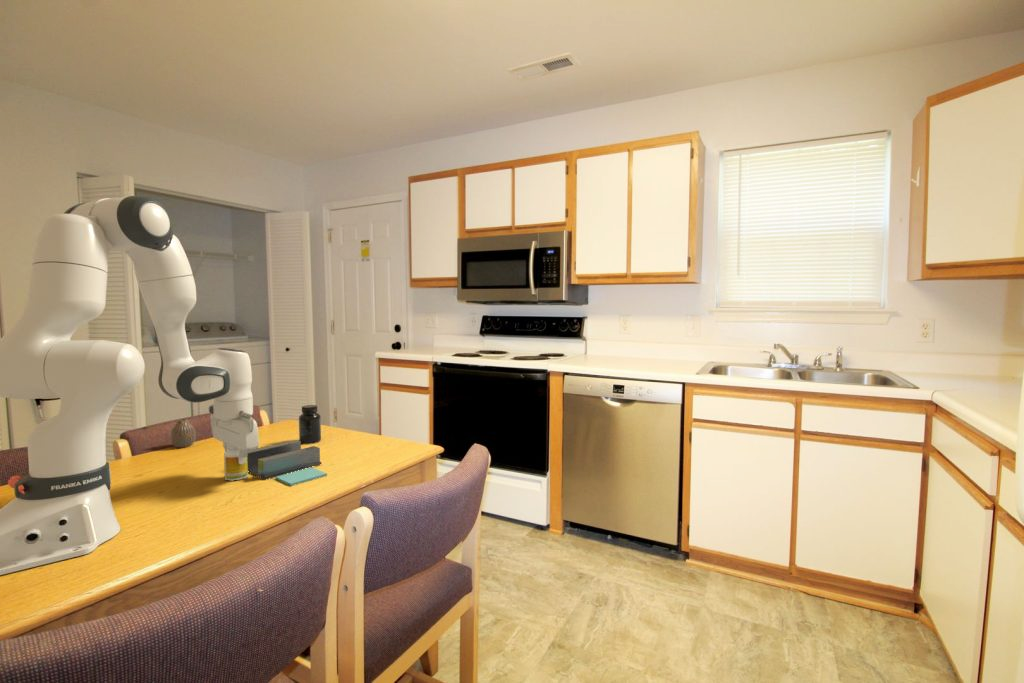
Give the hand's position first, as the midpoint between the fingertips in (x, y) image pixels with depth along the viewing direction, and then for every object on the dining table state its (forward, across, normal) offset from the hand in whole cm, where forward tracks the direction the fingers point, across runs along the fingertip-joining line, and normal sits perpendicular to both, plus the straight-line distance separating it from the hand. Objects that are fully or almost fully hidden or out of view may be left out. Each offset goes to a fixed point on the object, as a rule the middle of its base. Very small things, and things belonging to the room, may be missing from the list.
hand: (235, 460), depth 130 cm
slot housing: (+5, 0, -12) cm, 13 cm away
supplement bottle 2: (+5, +18, -31) cm, 36 cm away
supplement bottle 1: (+5, 0, 0) cm, 5 cm away
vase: (+5, +44, -2) cm, 44 cm away
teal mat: (+5, -13, -11) cm, 18 cm away
